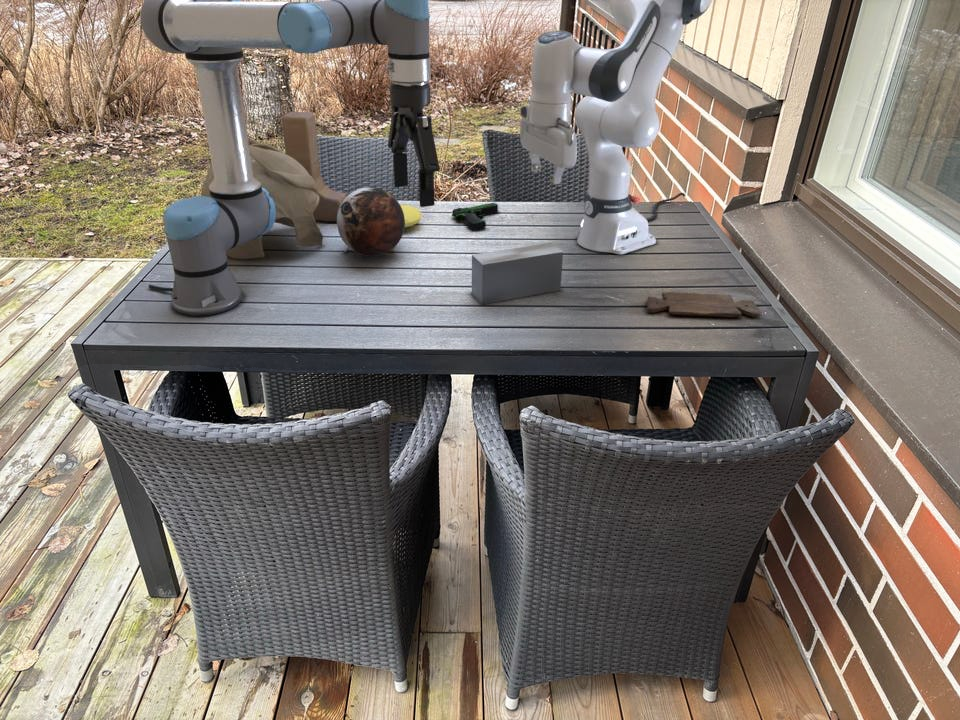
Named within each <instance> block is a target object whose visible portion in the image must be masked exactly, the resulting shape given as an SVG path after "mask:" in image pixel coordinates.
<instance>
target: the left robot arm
mask: <svg viewBox="0 0 960 720" xmlns="http://www.w3.org/2000/svg"><path fill="white" fill-rule="evenodd" d="M140 8H141V9H140V14H139V17H140V25H141V29H142V30H143V33H144V35H145V37H146V39H148V41H149V42H150V43H151V44H152V45H153V46H155V47H156V48H157V49H159V50H161V51H163V52H165V53H170V54H174V55H175V54H176V55H182V54H184V55H185V60H186V62H188V63H189V64H190V65H192V66H193V67H194V68H195V74H196V80H197V85H198V91H199V92H198V93H199V97H200V98H199V99H200V103H201V109H202V115H203V120H204V121H203V122H204V124H205V125H204V126H205V132H206V138H207V143H208V149H209V155H210V161H211V165H212V167H213V173H214V180H213V182H212V183H211V184H210V185H209V191H210V197H211V198H210V197H206V196H201V195H197V196H192V197H190V198H189V197H186V198H182V199H179V200H177V201H174V202H173V203H171V204H170V205H169V206H167V207H166V209H164V211H163V214H162V219H163V230H164V231H163V232H164V235H165V236H166V237H165V238H166V240H167V245H168V249H169V250H168V251H169V254H170V258H171V259H170V260H171V264H172V268H173V272H174V279H173V285H172V287H165V286H157V285H153V284H149V285H148V288H149V289H153V290H156V291H160V292H161V291H162V292H172V294H171V302H172V303H171V304H172V308H173V310H175V311H176V312H177V313H180V314H182V315H186V316H192V317H203V316H212V315H213V316H214V315H217V314H221V313H224V312H228V311H229V310H231V309H234V308H235V307H237V306H238V305H239V304H240V303H241V301H242V300H243V295H242V289H241V287H240V285H239V283H238V281H237V280H236V278H235V276H234V274H233V272H232V270H231V269H230V267H229V262H228V255H226V251H227V250H229V249H232V248H234V247H236V246H239V245H241V244H243V243H246V242H248V241H250V240H253V239H257V238H259V237H260V236H261V235H262V236H263V235H265V234H267V233H268V232H269V231H270V230H271V229H272V228H273V227H274V223H275V222H274V221H275V216H276V210H275V204H274V201H273V199H272V198H270V197H269V195H270V194H269V193H268V191H267V190H265V189H264V188H263V187H262V186H261V182H260V181H259V180H257V179H256V178H255V177H254V176H253V170H252V163H251V156H250V149H249V142H248V138H249V135H248V130H247V129H248V128H247V122H246V116H245V107H244V102H243V101H244V100H243V93H242V87H241V80H240V74H239V73H240V72H239V65H240V64H241V63H242V61H243V60H244V49H257V50H258V49H259V50H260V49H261V50H287V51H288V50H289V51H290V50H291V51H292V52H293V53H296V54H300V55H301V54H306V55H307V54H317V53H320V52H323V51H327V50H328V51H329V50H332V49H339V48H345V47H350V46H351V47H352V46H355V45H357V46H358V45H366V44H367V45H381V46H387V57H388V63H386V66H385V67H386V70H388V77H389V80H390V82H391V83H390V84H389V102H390V104H391V120H390V127H389V133H388V141H387V147H388V149H391V152H392V163H393V165H392V166H393V184H394V185H393V186H394V187H395V188H403V187H408V186H409V172H408V154H407V153H408V152H409V150H408V147H407V146H408V143H409V141H411V142H412V145H413V148H414V152H415V154H416V158H417V161H418V165H419V170H418V171H417V174H418V185H419V186H418V188H419V189H418V191H419V207H420V208H426V207H433V206H435V173H436V172H440V169H441V168H440V163H439V158H438V152H437V148H436V147H437V146H436V142H435V137H434V133H433V123H432V115H424V108H425V107H428V106H429V105H431V103H432V95H431V94H432V92H431V91H432V89H431V88H432V87H431V84H430V83H429V82H430V80H431V79H432V77H431V76H432V73H431V56H430V19H431V14H430V9H429V8H430V7H429V0H320V1H319V0H318V1H243V0H144V1H143V4H142V5H141V7H140Z"/></svg>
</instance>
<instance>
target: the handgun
mask: <svg viewBox="0 0 960 720" xmlns="http://www.w3.org/2000/svg"><path fill="white" fill-rule="evenodd" d="M496 213H497V214H498V213H499V205H498V203H495V202H489V203H485V204H479V205H474V206H469V207H468V206H467V207H458V208H453V210H452V213H451V216H452V217H453V218H454V220H455V221H456V222H463V223H465V224H466V225H467V227H468V228H469V229H470V230H472V231H479V230H484V229H486V226H487V222H486V221H485V220H484V219H485V216H486V215H492V214H496Z"/></svg>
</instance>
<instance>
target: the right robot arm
mask: <svg viewBox="0 0 960 720" xmlns="http://www.w3.org/2000/svg"><path fill="white" fill-rule="evenodd" d="M712 2H713V0H609V7H610V10H611V11H610V12H611V14H612V16H613V18H614V19H615V21H616V22H617V23H618V25H620V27H622V28H623V29H625V30H627V32H626V34H625V35H624V38H623V40H622V42H621V44H620V45H619V46H617V47H614V48H607V49H605V48H596V47H589V46H584V45H583V44H580V43H579V42H577V41H576V40H574V37H573V34H572V33H571V32H570V31H566V30H553V31H546V32H543V33H541V34H540V35H539V36H538V37H537V38H536V39H535V42H534V47H533V51H532V59H531V70H530V80H531V84H532V85H531V86H532V87H531V93H530V96H529V103H527V104H524V105H521V106H520V107H519V116H520V117H521V119H520V122H519V123H520V124H519V125H520V127H519V140H520V145H521V148H523V149H524V150H527V151H528V153H529V155H528V156H529V159H530V164H531V172H532V173H535V174H537V173H541V172H542V164H541V162H540V161H541V159H540V158H542V159H543V160H545V161H546V162H549V163H551V164H553V170H554V171H553V174H551V175H550V182H551V183H552V184H553V185H560V184H561V183H562V176H563V175H564V172H565V170H566V169H568V168H574V167H575V165H576V164H577V157H578V153H577V152H578V143H577V142H578V140H577V134H576V132H575V130H574V128H573V126H572V123H571V122H570V120H571V110H572V109H571V107H572V96H571V94H576V95H580V96H584V97H582V99H581V100H580V101H579V102H578V103H577V105H576V108H575V111H574V123H575V126H576V127H577V129H578V131H579V132H580V134H581V135H582V138H583V140H584V144H585V148H586V152H587V157H588V182H587V191H586V192H585V196H584V216H583V219H582V221H581V223H580V227H581V228H580V231H579V234H578V237H577V239H576V242H577V244H578V245H579V246H580V247H582V248H584V249H587V250H590V251H594V252H600V253H611V254H616V255H625V254H628V253H631V252H634V251H637V250H640V249H643V248H646V247H650V246H652V245H655V244H656V243H657V239H656V237H655V236H654V235H653V234H651V233H650V232H649V230H650V229H649V228H650V226H649V222H650V221H652V220H654V219H655V218H656V217H657V215H658V213H657V209H658V206H659V205H660V204H662V203H663V204H664V203H666V202H671V201H675V200H676V199H677V198H679V197H681V196H682V197H684V198H685V197H686V194H685V193H684V192H679V193H677V194H676V195H675V196H674V197H670V198H666V199H661V200H659V201H657V202H656V203H655V204H654V205H653V206H654V207H653V215H652V216H650V217H648V218H646V217H645V216H644V215H642V214H641V213H640V212H638V211H637V210H636V208H634V207H633V203H634V205H639V203H640V202H641V198H640V197H639V196H637V195H636V194H635V195H631V194H630V192H629V191H630V183H631V175H632V166H631V163H630V161H629V160H628V158H627V157H626V155H625V152H624V150H623V148H626V149H645V148H647V147H649V146H650V145H651V144H653V142H654V141H655V140H656V138H657V136H658V134H659V130H660V124H661V123H660V118H659V115H658V113H657V110H656V97H657V92H658V89H659V86H660V83H661V81H662V79H663V77H664V74H665V73H666V71H667V69H668V66H669V64H670V62H671V60H672V59H673V57H674V54H675V52H676V50H677V48H678V45H679V43H680V40H681V38H682V35H683V31H684V28H685V26H686V25H689V24H691V22H693V21H694V20H697V19H699V18H700V17H702V15H704V14H705V13H706V12H707V10H708V9H709V7H710V5H711V4H712Z"/></svg>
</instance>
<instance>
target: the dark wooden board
mask: <svg viewBox="0 0 960 720" xmlns="http://www.w3.org/2000/svg"><path fill="white" fill-rule="evenodd" d="M661 297H662V298H659V297H656V296H648V297H647V301H646V302H647V303H646V309H647V313H650V314H652V313H658V312H663V311H667V310H668V315H674V316H699V317H718V318H719V317H721V318H741V317H742V315H745V316H749V317H751V318H753V317H758V318H759V317H761V316H762V315H761V314H762V313H761V312H760V310H759V308H758V306H757V304H756V303H755V301H754V300H751V299H741V300H738V301H734V300H733V297H732V295H731V294H718V293H696V292H692V293H691V292H671V291H669V292H667V291H666V292H664V291H663V292H661Z"/></svg>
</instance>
